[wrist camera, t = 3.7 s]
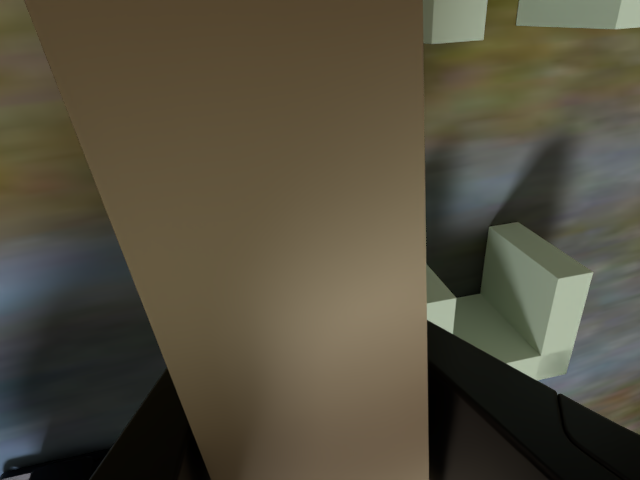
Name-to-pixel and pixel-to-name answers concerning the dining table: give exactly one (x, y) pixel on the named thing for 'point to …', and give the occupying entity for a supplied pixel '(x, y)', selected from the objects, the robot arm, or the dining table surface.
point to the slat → (267, 216)
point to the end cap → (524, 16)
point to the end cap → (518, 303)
